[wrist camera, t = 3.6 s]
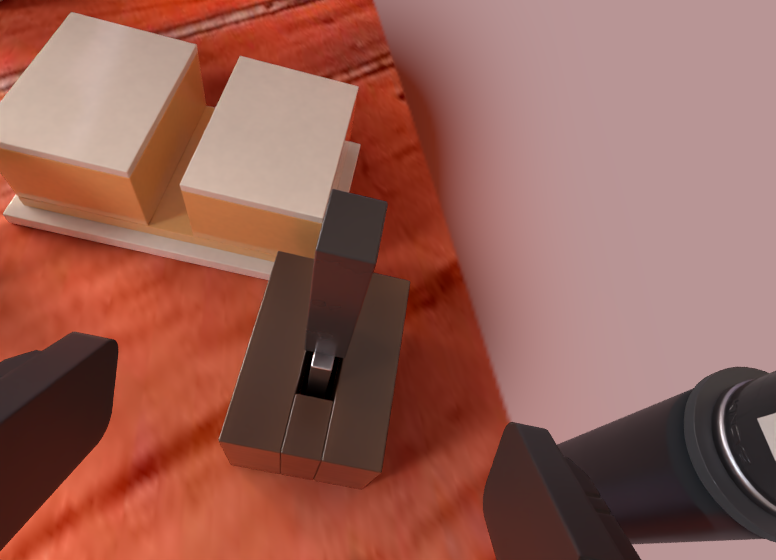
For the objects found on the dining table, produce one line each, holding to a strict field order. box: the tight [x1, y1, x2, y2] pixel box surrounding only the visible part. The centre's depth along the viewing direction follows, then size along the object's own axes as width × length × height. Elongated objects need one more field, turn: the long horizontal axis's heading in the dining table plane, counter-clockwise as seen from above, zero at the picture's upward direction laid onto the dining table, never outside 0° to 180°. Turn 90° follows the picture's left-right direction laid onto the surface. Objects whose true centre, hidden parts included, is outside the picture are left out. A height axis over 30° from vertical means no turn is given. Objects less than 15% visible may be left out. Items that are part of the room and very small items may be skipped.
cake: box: [0, 12, 361, 280], centre depth 36 cm, size 22×14×8 cm, turn 81°
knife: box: [304, 189, 388, 399], centre depth 25 cm, size 2×4×19 cm, turn 171°
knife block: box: [219, 251, 410, 489], centre depth 30 cm, size 8×11×7 cm
